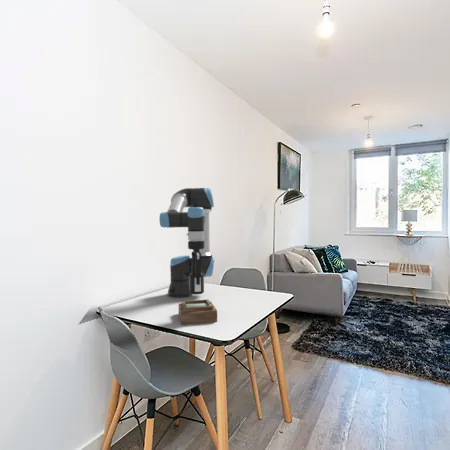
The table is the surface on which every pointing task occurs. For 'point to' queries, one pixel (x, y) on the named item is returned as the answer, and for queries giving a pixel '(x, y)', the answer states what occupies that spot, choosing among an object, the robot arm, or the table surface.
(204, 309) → the stand
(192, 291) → the supplement bottle
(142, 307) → the table surface
